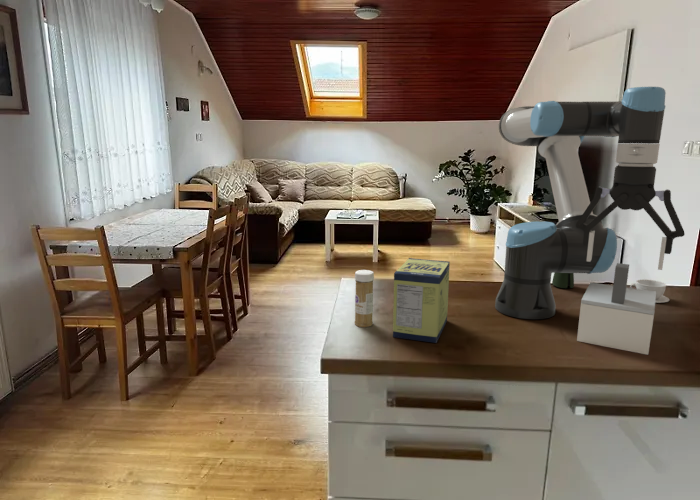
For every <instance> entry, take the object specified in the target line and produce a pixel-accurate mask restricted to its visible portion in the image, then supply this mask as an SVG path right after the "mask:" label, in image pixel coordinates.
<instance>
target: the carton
mask: <svg viewBox="0 0 700 500" xmlns="http://www.w3.org/2000/svg"><path fill="white" fill-rule="evenodd" d="M654 317H655V314H654V315H653V314H646V313H640V312H634V311H628V310H621V309H615V308H609V307H602V306H596V305H590V304H584V303H581V302H580V309H579V318H578V319H579V320H578V327H577V328H578V329H577V335H576V336H577V337H576V341H577V342H580V343H581V342H582V343H585V344H589V345H590V344H591V345H596V346H601V347H606V348H611V349H617V350H622V351H627V352H632V353H636V354H641V355H649V352H650V344H651V340H652V339H651V338H652V332H653V324H654Z"/></svg>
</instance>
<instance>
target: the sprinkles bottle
mask: <svg viewBox="0 0 700 500" xmlns="http://www.w3.org/2000/svg"><path fill="white" fill-rule="evenodd" d="M374 279H375V273H374V271H372V270H369V269H360V270H356V271H355V273H354V280H355V298H354V312H355V313H354V326H356V327H359V328H368V327H371V326H373V324H374V323H373V313H374Z"/></svg>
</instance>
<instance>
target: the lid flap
mask: <svg viewBox="0 0 700 500" xmlns="http://www.w3.org/2000/svg"><path fill="white" fill-rule="evenodd" d="M614 269H615V270H614V277H613V285H612V284H605V283H604V284H603V283H599V282H598V283H596V282H590V283H589V284H588V287H587V288H586V290H585V293H584V294H583V296H582V298H581V301H580V304H581V303H584V304H590V305H596V306H602V307H609V308H615V309H621V310H628V311H634V312H640V313H646V314H653V315H654V316H655V309H656V302H655V298H656V291H649V290H641V289H636V288H633V287H632V288H630V287H628V279H629V271H630V270H629V269H630V264H626V263H621V262H620V263H619V262H617V263H616V265H615V268H614Z"/></svg>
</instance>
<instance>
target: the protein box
mask: <svg viewBox="0 0 700 500" xmlns="http://www.w3.org/2000/svg"><path fill="white" fill-rule="evenodd" d="M450 264H451V262H450V261H447V260H446V261H444V260H436V259H435V260H432V259H425V258H424V259H421V258H412V257H411V258H410V257H408V259H407V260H406V261H405V262H403V264H402V265H401V266H400V267H399V268H398V269H397V270H395V271H394V274H393V309H392V310H393V312H392V313H393V314H392V337H393V338H398V339H405V340H412V341H421V342H428V343H432V344H433V343H434V344H437V343H438V341H439V338H440V336H441V334H442V332H443V331H444V328H445V327H446V323H447V321H448V310H449V309H448V308H449V307H448V305H449V303H448V302H449V284H450V283H449V281H450Z"/></svg>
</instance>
